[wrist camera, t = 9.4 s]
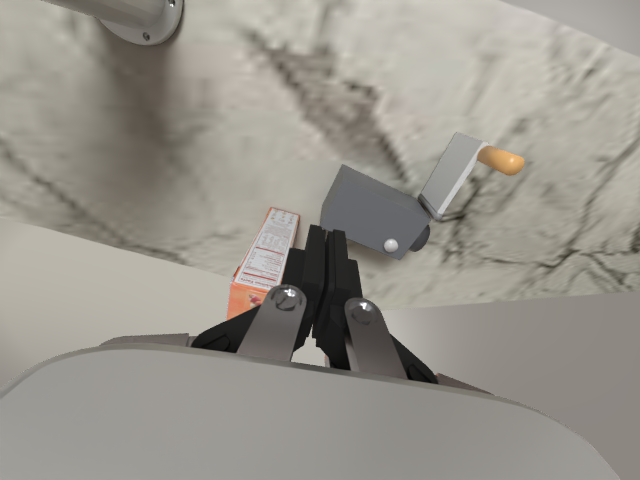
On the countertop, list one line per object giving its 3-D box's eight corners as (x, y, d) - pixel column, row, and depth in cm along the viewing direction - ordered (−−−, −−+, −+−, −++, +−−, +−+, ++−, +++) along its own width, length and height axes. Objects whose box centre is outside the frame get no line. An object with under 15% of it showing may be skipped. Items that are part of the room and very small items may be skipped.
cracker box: (286, 271, 52) (261, 366, 34) (259, 264, 51) (217, 356, 34) (302, 214, 45) (280, 296, 27) (270, 205, 44) (226, 282, 26)
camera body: (322, 205, 44) (319, 229, 36) (342, 164, 40) (343, 181, 32) (402, 240, 46) (415, 269, 39) (428, 204, 42) (448, 229, 35)
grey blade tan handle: (455, 131, 36) (510, 150, 25) (470, 137, 36) (530, 157, 25) (417, 198, 42) (447, 238, 30) (430, 202, 42) (464, 243, 31)
